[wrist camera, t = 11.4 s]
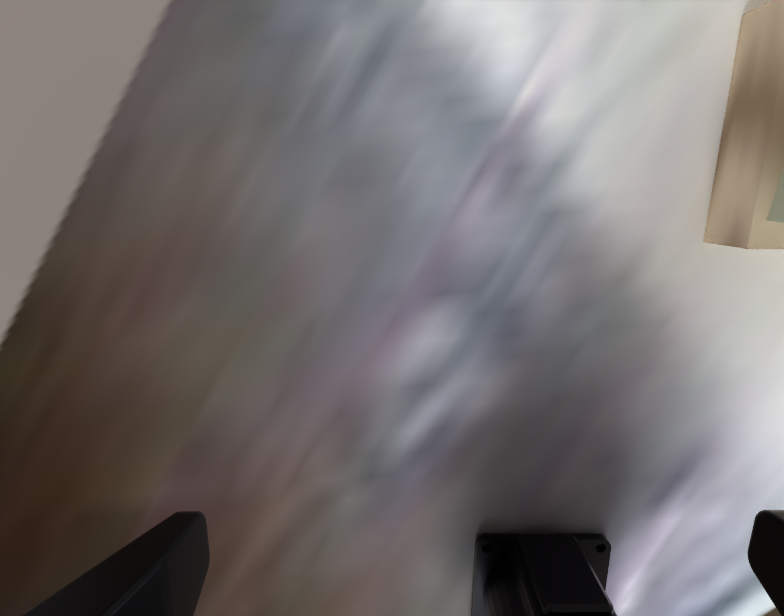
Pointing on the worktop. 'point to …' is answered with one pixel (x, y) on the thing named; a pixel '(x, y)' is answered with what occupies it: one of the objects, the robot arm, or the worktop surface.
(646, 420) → the worktop surface
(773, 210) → the sage top block
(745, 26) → the birch base block
